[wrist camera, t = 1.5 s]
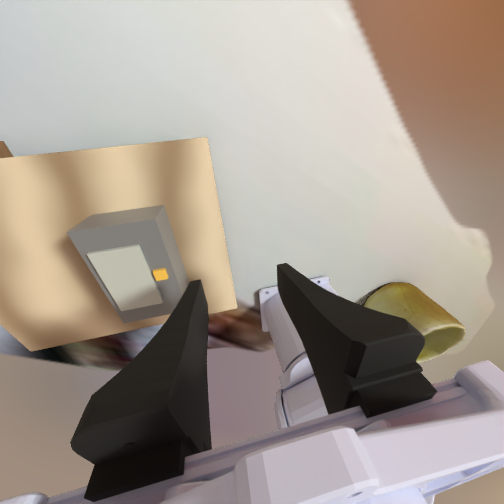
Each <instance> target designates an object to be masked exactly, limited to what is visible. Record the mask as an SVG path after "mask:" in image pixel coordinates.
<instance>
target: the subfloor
mask: <svg viewBox="0 0 504 504" xmlns="http://www.w3.org/2000/svg"><path fill="white" fill-rule="evenodd" d="M159 205H164V206H165V209H166V212H167V215H168V219H169V222H170V225H171V228H172V231H173V234H174V237H175V240H176V243H177V246H178V250H179V253H180V256H181V259H182V262H183V265H184V268H185V271H186V274H187V277H188V280H189V282H190V281H194V280H199V279H201V282H202V285H203V289H204V293H205V296H206V300H207V303H208V314H211V313H216V312H221V311H225V310H230V309H235V308H237V303H236V297H235V292H234V286H233V280H232V275H231V269H230V263H229V258H228V252H227V246H226V241H225V235H224V229H223V224H222V218H221V212H220V207H219V201H218V195H217V190H216V184H215V178H214V173H213V167H212V161H211V156H210V150H209V144H208V139H207V137H204V138H194V139H184V140H175V141H165V142H155V143H146V144H136V145H126V146H116V147H106V148H97V149H87V150H77V151H67V152H57V153H48V154H38V155H28V156H18V157H13V155H12V154H11V152H10V151H9V149H8V148H7V146H6V145H5V143H4V141H0V324H1V325H2V326H3V327H4V328H5V329H6V330H7V331H8V332H9V333H11V334H12V335H13V336H14V337H15V338H16V339H17V340H18V341H19V342H21V343H22V344H23V345H24V346H25V347H26V348H27V349H28V350H29V351H36V350H41V349H46V348H50V347H55V346H60V345H65V344H69V343H74V342H79V341H83V340H88V339H93V338H98V337H102V336H107V335H112V334H117V333H121V332H126V331H131V330H135V329H140V328H145V327H150V326H154V325H159V324H164V323H165V322H166V321H167V319H168V318H169V316H170V315H171V314H168V315H163V316H158V317H153V318H148V319H144V320H139V321H134V322H129V323H123V322H122V320H121V318H120V317H119V315H118V314H117V312H116V310H115V309H114V307H113V306H112V304H111V302H110V301H109V299H108V298H107V296H106V294H105V293H104V291H103V290H102V288H101V287H100V285H99V283H98V282H97V280H96V279H95V277H94V275H93V274H92V272H91V271H90V269H89V267H88V266H87V264H86V263H85V261H84V259H83V258H82V256H81V255H80V253H79V252H78V250H77V248H76V247H75V245H74V244H73V242H72V240H71V239H70V237H69V236H68V234H67V231H69V230H70V229H71V228H73V227H74V226H76V225H77V224H79V223H80V222H82V221H83V220H85V219H86V218H88V217H89V216H91V215H94V214H102V213H109V212H116V211H123V210H130V209H137V208H144V207H152V206H159Z"/></svg>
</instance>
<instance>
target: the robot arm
mask: <svg viewBox="0 0 504 504" xmlns="http://www.w3.org/2000/svg"><path fill="white" fill-rule="evenodd" d="M277 281H278V286H274V287H270V288H265V289H261V290H260V291H259V302H260V312H261V323H262V330H263V332H268V331H270V335H271V338H272V341H273V344H274V347H275V350H276V353H277V356H278V359H279V362H280V365H281V368H282V372H283V374H282V375H281V376H279V380H280V384H281V387H282V388H281V389H279V390H278V391H277V393H276V400H275V417H276V422H277V427H278V430H275V431H272V432H269V433H266V434H262V435H259V436H255V437H252V438H248V439H245V440H242V441H238V442H235V443H232V444H228V445H225V446H221V447H218V448H215V449H212V446H211V434H210V433H211V432H210V420H209V419H210V418H209V402H208V384H207V342H208V324H209V316H208V303H207V300H206V296H205V293H204V289H203V285H202V282H201V279H199V280H194V281H190V282H189V284H188V286H187V288H186V290H185V292H184V294H183V295H182V297H181V299H180V301H179V302H178V304H177V306H176V307H175V309H174V310H173V312H172V313H171V315H170V316H169V318H168V319H167V321H166V322H165V323H164V325H163V326H162V327H161V329H160V330H159V331H158V333H157V334H156V335H155V336H154V337H153V339H152V340H151V341H150V342H149V343H148V344H147V345H146V346H145V347H144V348H143V350H142V351H141V352H140V353H139V354H138V355H137V356H136V357H135V358H134V359H133V360H132V361H131V362H130V363H129V364H128V365H126V366H125V367H124V368H123V369H122V370H121V371H120V372H119V373H118V374H117V375H116V376H114V377H113V378H112V379H111V380H110V381H108V382H107V383H106V384H105V385H104V386H103V387H101V388H100V389H99V390H98V391H97V392H95V393H94V394H93V395H92V396H91V399H90V400H89V402H88V404H87V406H86V408H85V410H84V412H83V415H82V417H81V419H80V422H79V424H78V426H77V428H76V431H75V433H74V435H73V438H72V440H71V442H70V443H71V447H72V449H73V450H74V451H75V452H76V453H77V454H79V455H80V456H82V457H83V458H85V459H87V460H88V461H90V462H92V463H93V464H95V466H94V469H93V471H92V475H91V477H90V480H89V483H88V486H86V487H83V488H79V489H76V490H73V491H70V492H66V493H62V494H59V495H56V496H52V497H49V498H48V497H47V496H46V495H45V494H42V493H38V492H32V493H25V494H21V495H18V496H14V497H11V498H8V499H4V500H1V501H0V504H433V503H434V497H435V494H437V493H440V492H442V491H445V490H448V489H450V488H452V487H455V486H457V485H460V484H462V483H465V482H467V481H470V480H472V479H475V478H477V477H479V476H482V475H485V474H487V473H490V472H492V471H495V470H498V469H500V468H503V467H504V372H503V371H501V370H500V369H499V368H497V367H496V366H495V365H494V364H492V363H491V362H490V361H488V360H484V361H481V362H477V363H474V364H470V365H467V366H465V367H463V368H461V369H460V370H458V371H457V372H456V374H455V375H454V378H451V379H448V380H445V381H441V382H438V383H435V384H431V383H430V382H429V381H428V380H427V379H426V378H425V377H424V376H423V375H422V373H421V372H422V371H423V370H422V367H421V366H420V365H419V364H418V363H417V362H416V360H417V358H418V356H419V355H420V353H421V351H422V349H423V347H424V345H425V337H424V336H423V334H421V333H420V332H419V331H418V330H417V329H416V328H415V327H414V326H413V325H412V324H410V323H409V322H408V321H407V320H406V319H405V318H401V317H397V316H393V315H390V314H386V313H382V312H379V311H376V310H373V309H370V308H367V307H364V306H361V305H359V304H356V303H354V302H351V301H349V300H346V299H344V298H342V297H340V296H339V295H338V294H337V293H336V292H335V291H334V289H333V288H332V287H331V286H330V285H329V278H328V277H327V276H324V277H319V278H314V279H308V278H306V277H305V276H304V275H302V274H301V273H299V272H298V271H297V270H295V269H294V268H292V267H291V266H290V265H288V264H287V263H284V264H279V265H277ZM317 281H318V282H317ZM267 291H268V292H267Z"/></svg>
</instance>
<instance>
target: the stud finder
mask: <svg viewBox="0 0 504 504" xmlns="http://www.w3.org/2000/svg"><path fill="white" fill-rule="evenodd" d="M67 234H68V236H69V237H70V239H71V240H72V242H73V244H74V245H75V247H76V248H77V250H78V252H79V253H80V255H81V256H82V258H83V259H84V261H85V263H86V264H87V266H88V267H89V269H90V271H91V272H92V274H93V275H94V277H95V279H96V280H97V282H98V283H99V285H100V287H101V288H102V290H103V291H104V293H105V294H106V296H107V298H108V299H109V301H110V302H111V304H112V306H113V307H114V309H115V310H116V312H117V314H118V315H119V317H120V318H121V320H122V322H123V323H129V322H134V321H139V320H144V319H148V318H153V317H158V316H163V315H168V314H171V313H172V312H173V310H174V309H175V307H176V306H177V304H178V302H179V301H180V299H181V297H182V295H183V294H184V292H185V290H186V288H187V286H188V284H189V280H188V277H187V274H186V271H185V268H184V265H183V262H182V259H181V256H180V253H179V250H178V246H177V243H176V240H175V237H174V234H173V231H172V228H171V225H170V222H169V219H168V215H167V212H166V209H165V206H164V205H159V206H152V207H144V208H137V209H130V210H123V211H116V212H109V213H102V214H94V215H91V216H89V217H88V218H86V219H85V220H83V221H82V222H80V223H79V224H77V225H76V226H74V227H73V228H71V229H70V230H69V231H67Z"/></svg>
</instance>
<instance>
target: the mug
mask: <svg viewBox="0 0 504 504" xmlns="http://www.w3.org/2000/svg"><path fill="white" fill-rule="evenodd" d="M364 307H367V308H370V309H373V310H376V311H379V312H382V313H386V314H390V315H393V316H397V317H401V318H405V319H406V320H407V321H408V322H409V323H410V324H412V325H413V326H414V327H415V328H416V329H417V330H418V331H419V332H420V333H421V334H423V336H424V337H425V345H424V347H423V349H422V351H421V353H420V355H419V356H418V358H417V360H416V362H417V363H420V362H424V361H427V360H430V359H433V358H436V357H438V356H440V355H443V354H445V353H446V352H447V351H448V350H449V349H450V348H452V347H454V346H456V345H457V344H458V343H460V342H461V341H462V340H463V338H464V337H465V334H466V331H465V330H466V328H465V327H464V326H463V325H462V324H461V323H460V322H459V321H458V320H457V319H456V318H455V317H453V316H452V315H451V314H449V313H448V312H447V311H446V310H445V309H444V308H442V307H441V306H440V305H438V304H437V303H436V302H434V301H433V300H432V299H430V298H429V297H428V296H426V295H425V294H424V293H423V292H422V291H421V290H420V289H418V288H417V287H416V286H414V285H412V284H410V283H403V282H396V283H395V282H393V283H389V284H386V285H385V286H383V287H381V288H380V289H379V290H377V291H376V292H375V293H373V294H372V295H371V296H370V297H368V299H367V300H366V302H365V304H364Z"/></svg>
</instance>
